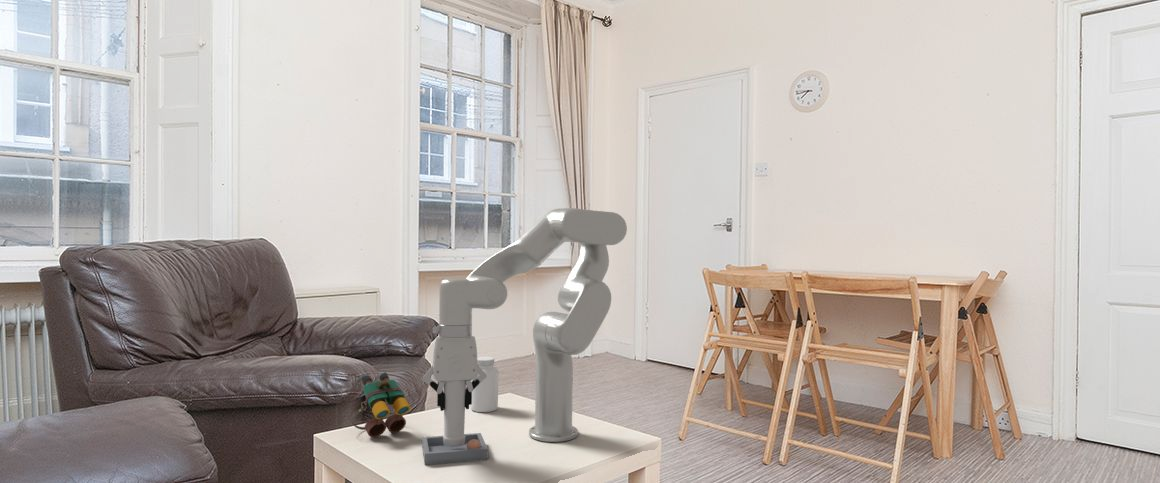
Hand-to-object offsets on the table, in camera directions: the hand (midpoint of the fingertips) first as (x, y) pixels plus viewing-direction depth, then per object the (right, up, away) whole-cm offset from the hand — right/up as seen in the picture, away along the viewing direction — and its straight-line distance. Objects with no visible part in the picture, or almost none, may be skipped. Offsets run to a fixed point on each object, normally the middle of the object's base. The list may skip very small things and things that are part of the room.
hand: (454, 407), depth 153 cm
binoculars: (-21, -11, +14) cm, 27 cm away
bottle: (0, -9, 0) cm, 9 cm away
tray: (0, -11, 0) cm, 11 cm away
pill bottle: (+1, -10, +38) cm, 39 cm away
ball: (+5, -10, -2) cm, 11 cm away
